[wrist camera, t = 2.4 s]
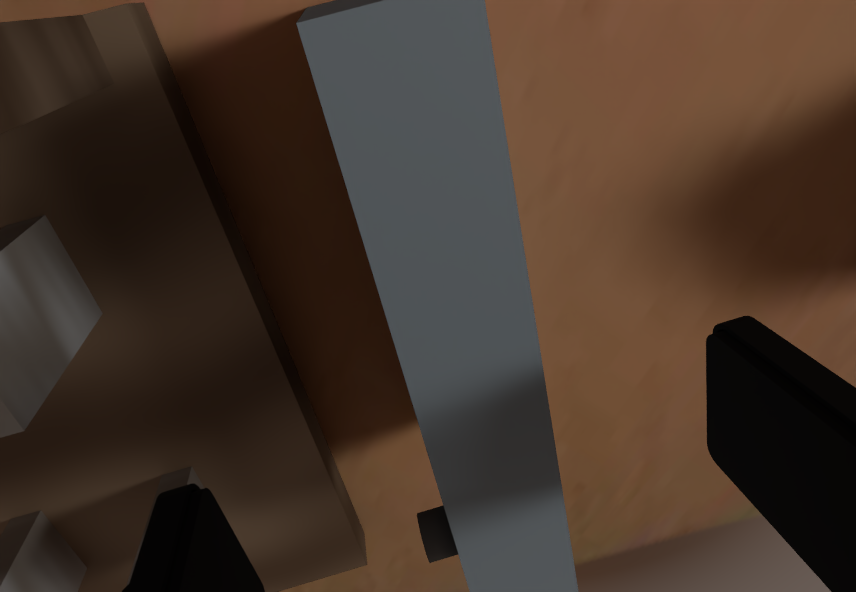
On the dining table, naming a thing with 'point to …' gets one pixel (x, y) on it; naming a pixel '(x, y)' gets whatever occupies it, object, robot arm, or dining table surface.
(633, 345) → the dining table surface
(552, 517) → the blue-grey rectangular block
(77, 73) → the wooden peg rack
